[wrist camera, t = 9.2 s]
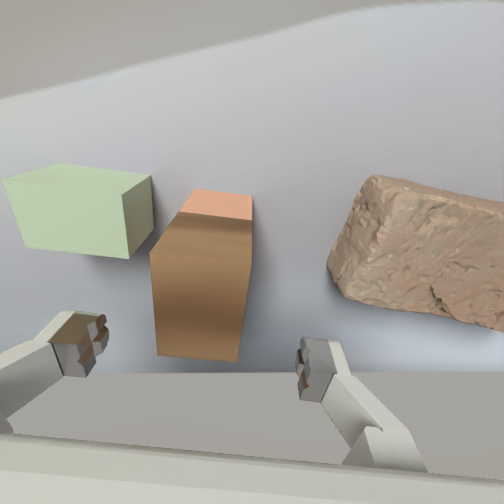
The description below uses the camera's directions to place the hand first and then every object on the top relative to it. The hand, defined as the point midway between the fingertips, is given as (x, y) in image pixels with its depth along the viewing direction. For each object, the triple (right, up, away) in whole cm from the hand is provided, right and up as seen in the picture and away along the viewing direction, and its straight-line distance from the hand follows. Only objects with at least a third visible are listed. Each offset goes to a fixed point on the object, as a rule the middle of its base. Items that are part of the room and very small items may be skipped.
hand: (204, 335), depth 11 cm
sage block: (-8, +7, +8) cm, 13 cm away
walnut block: (0, +3, +5) cm, 6 cm away
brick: (+17, +4, +10) cm, 20 cm away
